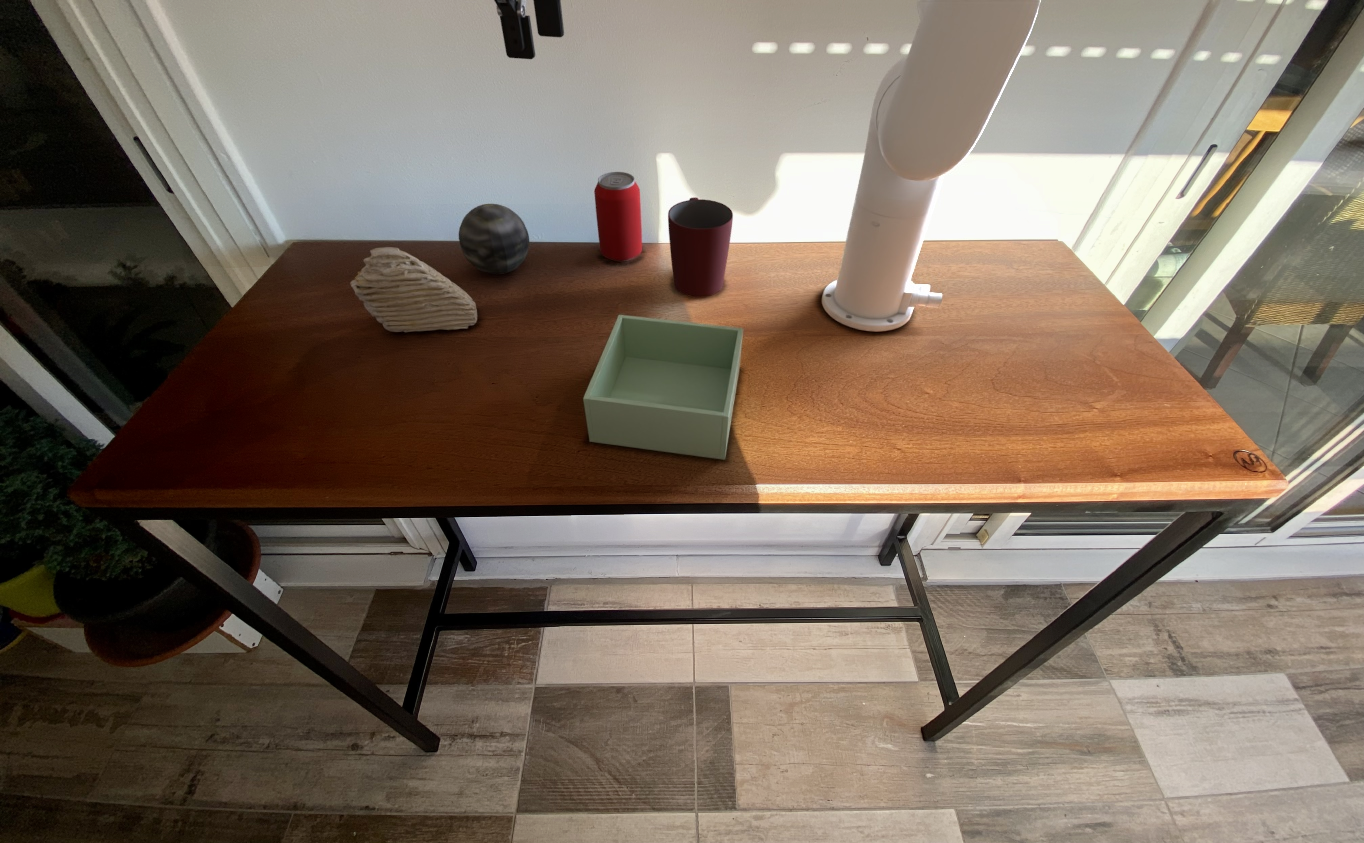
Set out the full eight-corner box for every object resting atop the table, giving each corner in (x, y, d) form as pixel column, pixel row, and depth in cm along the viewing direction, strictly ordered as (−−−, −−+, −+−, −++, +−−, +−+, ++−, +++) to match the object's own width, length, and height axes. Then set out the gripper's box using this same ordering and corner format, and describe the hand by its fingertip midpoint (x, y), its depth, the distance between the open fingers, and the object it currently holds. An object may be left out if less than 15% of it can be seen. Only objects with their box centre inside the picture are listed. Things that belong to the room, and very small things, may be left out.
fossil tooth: (476, 340, 81) (359, 337, 79) (482, 311, 85) (371, 308, 83) (462, 267, 73) (330, 262, 71) (469, 240, 77) (345, 234, 75)
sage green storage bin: (739, 370, 75) (743, 328, 70) (724, 459, 65) (728, 416, 60) (622, 356, 77) (618, 314, 72) (589, 441, 66) (582, 398, 62)
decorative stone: (524, 289, 88) (511, 225, 81) (458, 285, 88) (439, 221, 81) (541, 254, 95) (530, 193, 88) (480, 251, 96) (464, 190, 88)
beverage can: (645, 244, 97) (642, 170, 89) (639, 265, 93) (635, 190, 84) (604, 242, 98) (598, 168, 89) (596, 263, 93) (588, 188, 85)
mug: (663, 259, 94) (662, 191, 86) (719, 256, 95) (722, 188, 87) (672, 302, 86) (671, 231, 78) (732, 298, 87) (738, 227, 79)
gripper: (510, -154, 51) (541, 70, 63) (573, -158, 63) (589, 30, 75) (429, -156, 52) (475, 65, 64) (507, -160, 64) (533, 27, 76)
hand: (537, 46), depth 70 cm, fingers open, 9 cm apart
